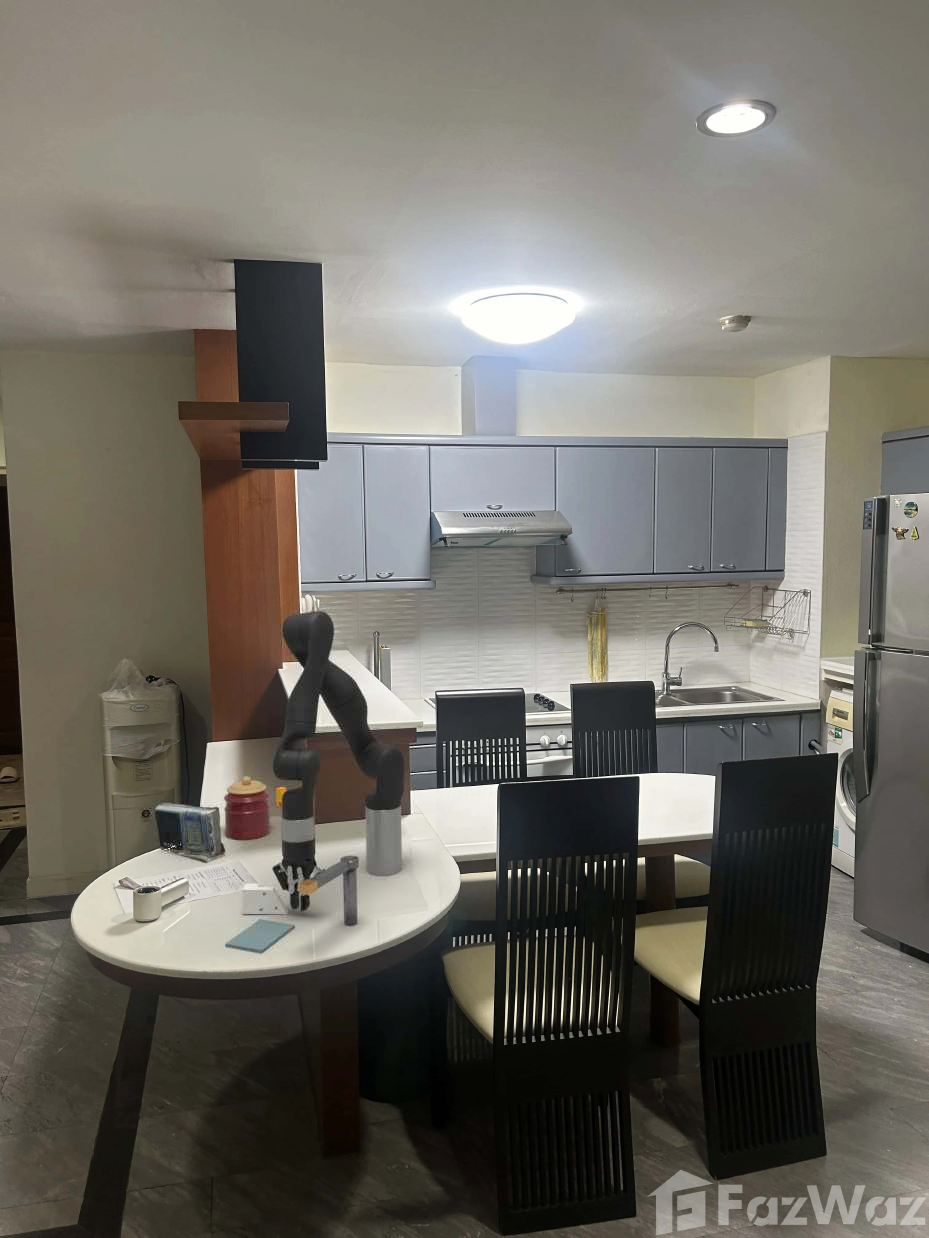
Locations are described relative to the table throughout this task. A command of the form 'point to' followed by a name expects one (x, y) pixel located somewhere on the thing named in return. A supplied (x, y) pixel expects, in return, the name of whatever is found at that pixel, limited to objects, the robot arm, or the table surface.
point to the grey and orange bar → (328, 875)
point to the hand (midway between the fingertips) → (300, 908)
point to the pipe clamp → (279, 795)
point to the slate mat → (260, 936)
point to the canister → (247, 810)
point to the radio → (190, 831)
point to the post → (350, 897)
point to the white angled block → (262, 900)
